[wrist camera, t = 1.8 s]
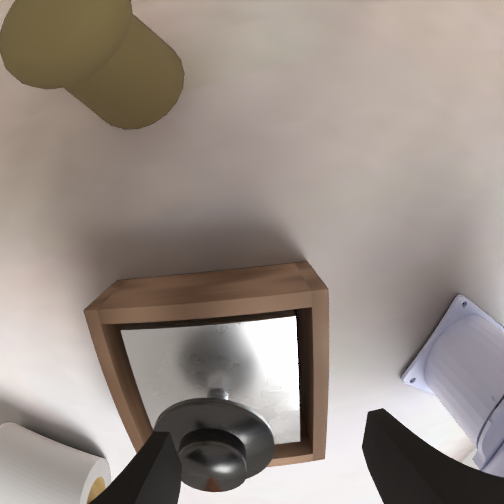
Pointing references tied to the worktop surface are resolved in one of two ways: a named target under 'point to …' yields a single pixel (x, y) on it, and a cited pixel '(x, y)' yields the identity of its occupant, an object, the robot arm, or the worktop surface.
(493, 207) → the worktop surface
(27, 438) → the toilet paper
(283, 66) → the worktop surface
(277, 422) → the plunger
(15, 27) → the brown tapered figure
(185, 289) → the frame
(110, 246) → the worktop surface
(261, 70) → the worktop surface
